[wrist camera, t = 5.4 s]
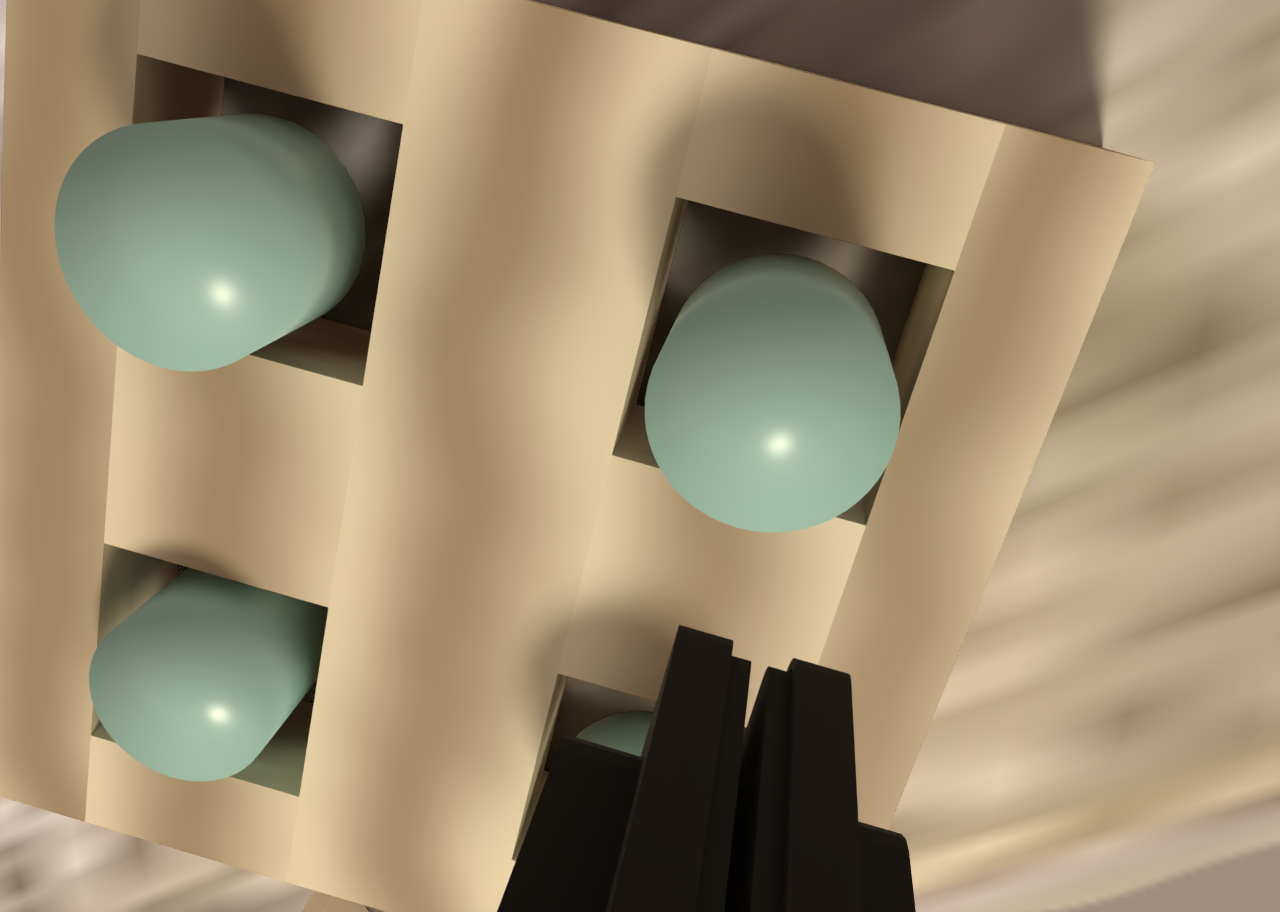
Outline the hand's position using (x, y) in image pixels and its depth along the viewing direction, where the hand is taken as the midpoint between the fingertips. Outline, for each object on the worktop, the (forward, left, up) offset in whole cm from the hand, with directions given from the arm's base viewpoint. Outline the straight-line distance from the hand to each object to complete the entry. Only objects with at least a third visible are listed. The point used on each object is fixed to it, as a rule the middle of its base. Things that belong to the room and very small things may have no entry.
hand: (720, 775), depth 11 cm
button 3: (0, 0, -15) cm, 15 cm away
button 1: (+12, 0, -15) cm, 19 cm away
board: (+6, +6, -19) cm, 20 cm away
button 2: (+12, +12, -17) cm, 24 cm away
